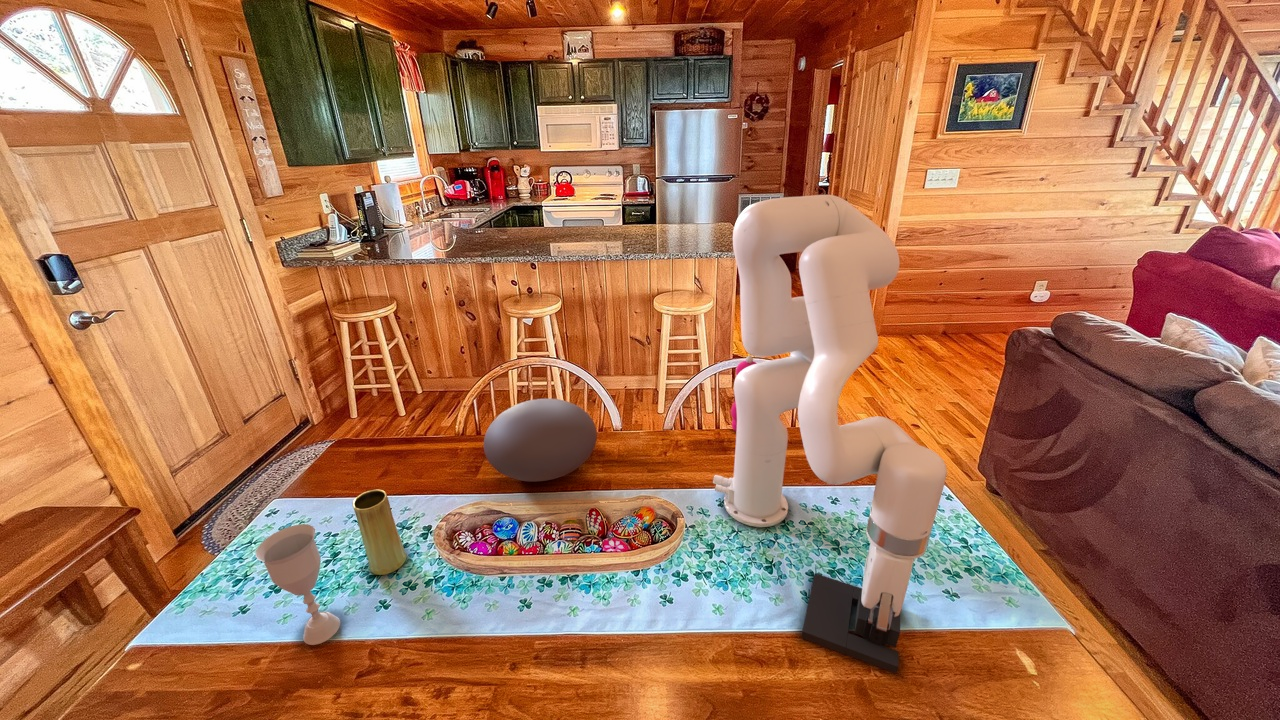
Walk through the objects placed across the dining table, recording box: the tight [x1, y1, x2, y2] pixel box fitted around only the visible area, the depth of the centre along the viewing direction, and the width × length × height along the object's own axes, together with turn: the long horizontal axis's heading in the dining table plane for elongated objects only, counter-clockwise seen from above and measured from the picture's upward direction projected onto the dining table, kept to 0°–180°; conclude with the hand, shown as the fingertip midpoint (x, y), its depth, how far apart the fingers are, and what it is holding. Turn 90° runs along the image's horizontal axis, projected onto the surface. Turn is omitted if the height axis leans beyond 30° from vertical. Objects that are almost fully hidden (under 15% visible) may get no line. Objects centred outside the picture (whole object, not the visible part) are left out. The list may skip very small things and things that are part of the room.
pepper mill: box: [730, 355, 758, 432], centre depth 125 cm, size 7×7×20 cm
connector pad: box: [854, 590, 902, 648], centre depth 76 cm, size 6×6×3 cm
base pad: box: [800, 572, 900, 675], centre depth 78 cm, size 13×12×2 cm
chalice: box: [254, 523, 341, 646], centre depth 75 cm, size 7×7×18 cm
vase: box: [352, 489, 408, 576], centre depth 88 cm, size 6×6×14 cm
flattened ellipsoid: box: [483, 398, 598, 483], centre depth 114 cm, size 25×25×15 cm
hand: (875, 622), depth 76 cm, fingers closed on connector pad, 5 cm apart
